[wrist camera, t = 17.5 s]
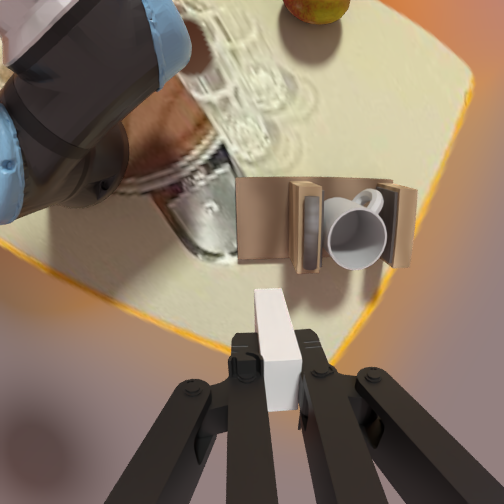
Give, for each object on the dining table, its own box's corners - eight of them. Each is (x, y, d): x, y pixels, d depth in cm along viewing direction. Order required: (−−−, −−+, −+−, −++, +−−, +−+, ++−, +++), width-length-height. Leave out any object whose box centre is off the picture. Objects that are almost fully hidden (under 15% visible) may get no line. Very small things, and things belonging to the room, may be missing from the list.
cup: (299, 227, 42) (314, 246, 34) (344, 169, 40) (370, 174, 32) (338, 257, 44) (359, 281, 35) (381, 202, 42) (411, 214, 33)
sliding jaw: (288, 255, 43) (299, 279, 35) (289, 181, 40) (301, 188, 32) (310, 254, 43) (325, 277, 35) (311, 181, 40) (329, 188, 32)
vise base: (238, 257, 44) (237, 278, 37) (235, 177, 41) (234, 182, 33) (384, 252, 45) (409, 271, 37) (390, 179, 42) (417, 185, 34)
